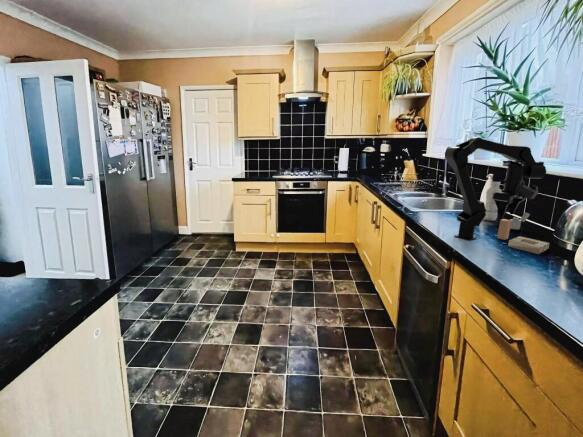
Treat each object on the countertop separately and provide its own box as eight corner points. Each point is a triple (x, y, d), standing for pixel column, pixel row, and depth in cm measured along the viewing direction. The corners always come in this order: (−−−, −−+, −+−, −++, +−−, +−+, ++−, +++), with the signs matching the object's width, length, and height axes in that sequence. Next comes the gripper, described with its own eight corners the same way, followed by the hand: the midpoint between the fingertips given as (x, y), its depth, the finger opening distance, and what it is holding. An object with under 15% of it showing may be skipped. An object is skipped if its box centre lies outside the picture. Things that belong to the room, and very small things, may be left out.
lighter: (509, 228, 150) (513, 212, 148) (508, 227, 152) (511, 211, 150) (526, 230, 149) (530, 213, 147) (524, 229, 151) (528, 212, 149)
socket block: (538, 254, 117) (539, 247, 116) (507, 246, 125) (509, 240, 124) (548, 249, 123) (549, 243, 122) (518, 242, 130) (519, 236, 130)
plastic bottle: (481, 218, 170) (488, 180, 165) (496, 220, 166) (504, 182, 161) (480, 220, 164) (487, 182, 160) (495, 222, 161) (503, 183, 156)
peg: (504, 239, 133) (508, 221, 131) (497, 237, 136) (500, 219, 134) (508, 238, 135) (511, 220, 133) (500, 236, 137) (503, 218, 135)
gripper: (528, 181, 117) (519, 222, 121) (546, 179, 128) (538, 217, 132) (495, 178, 126) (488, 216, 130) (515, 176, 137) (508, 211, 140)
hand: (506, 215), depth 133 cm, fingers open, 9 cm apart
